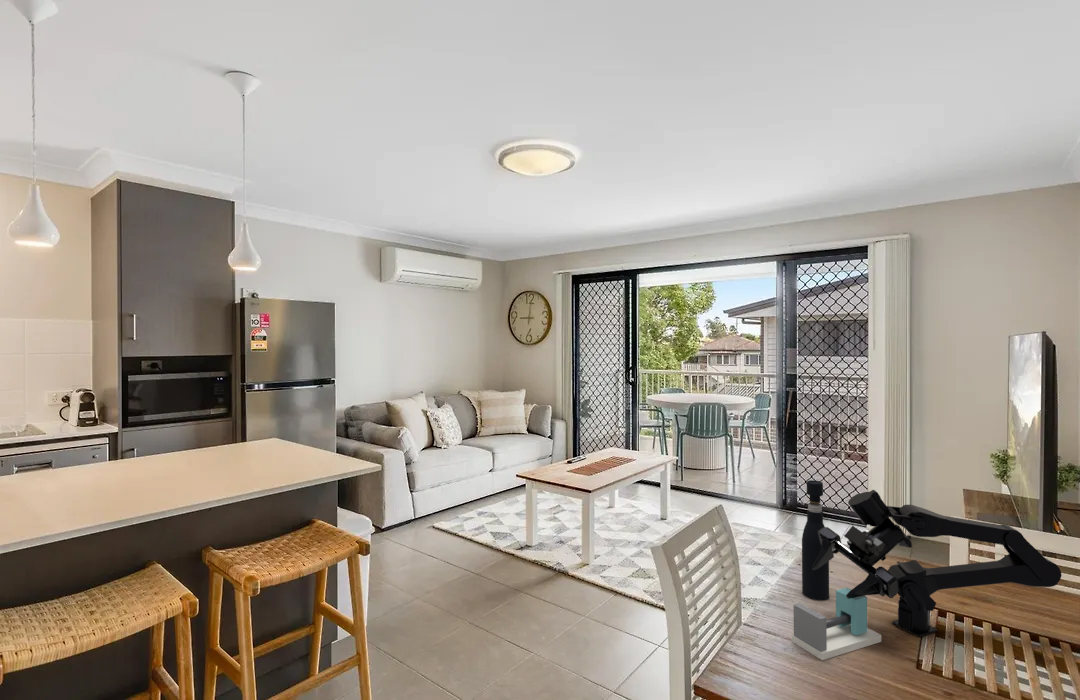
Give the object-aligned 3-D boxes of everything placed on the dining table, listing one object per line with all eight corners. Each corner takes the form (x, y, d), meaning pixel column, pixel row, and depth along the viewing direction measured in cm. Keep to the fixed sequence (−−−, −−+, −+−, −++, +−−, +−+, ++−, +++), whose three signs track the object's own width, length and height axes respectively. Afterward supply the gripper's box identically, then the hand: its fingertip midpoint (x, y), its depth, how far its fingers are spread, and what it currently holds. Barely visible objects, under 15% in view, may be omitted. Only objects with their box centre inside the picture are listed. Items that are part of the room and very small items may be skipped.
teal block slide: (848, 624, 128) (848, 588, 128) (881, 641, 121) (881, 603, 121) (791, 641, 121) (791, 603, 121) (822, 660, 114) (821, 620, 114)
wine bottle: (834, 600, 140) (833, 485, 140) (809, 600, 140) (808, 485, 140) (821, 589, 146) (820, 478, 146) (797, 589, 147) (796, 479, 146)
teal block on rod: (847, 621, 126) (847, 587, 126) (867, 631, 121) (867, 596, 121) (836, 624, 125) (835, 590, 124) (855, 635, 120) (855, 599, 120)
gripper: (839, 497, 131) (791, 535, 128) (915, 547, 115) (862, 592, 112) (845, 525, 137) (799, 563, 134) (918, 577, 121) (867, 620, 118)
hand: (829, 582), depth 124 cm, fingers open, 9 cm apart
